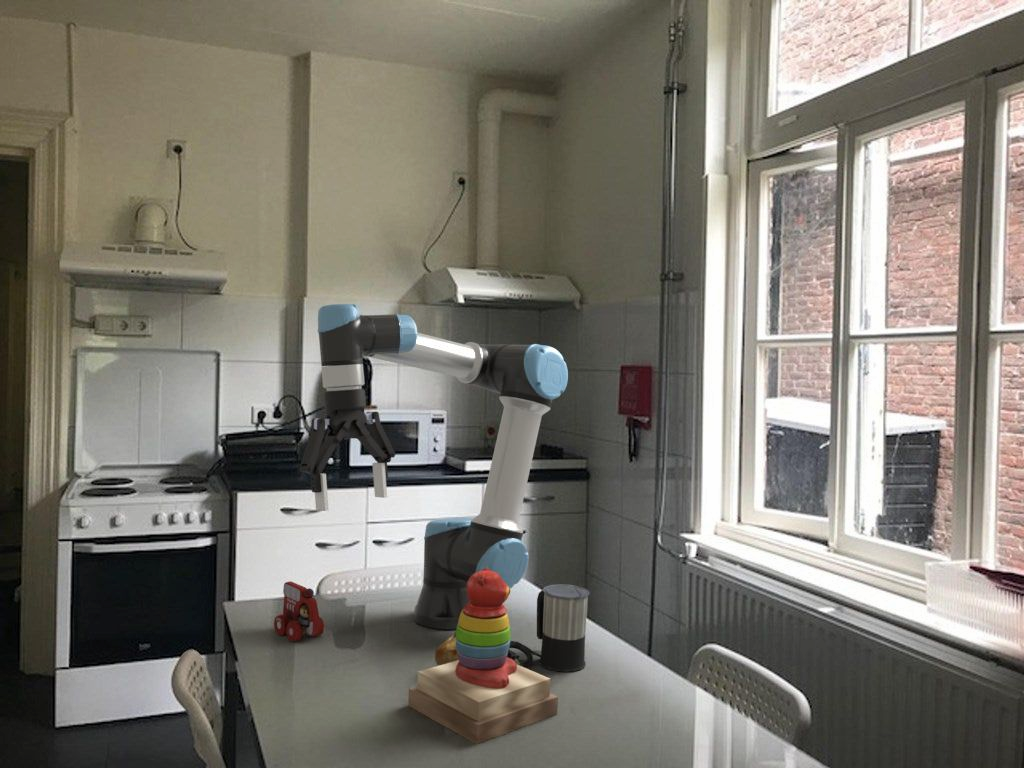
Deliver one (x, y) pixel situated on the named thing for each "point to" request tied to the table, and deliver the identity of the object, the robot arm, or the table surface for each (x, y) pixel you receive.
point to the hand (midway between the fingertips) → (352, 503)
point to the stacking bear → (484, 632)
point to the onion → (447, 651)
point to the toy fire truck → (298, 613)
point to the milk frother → (558, 629)
